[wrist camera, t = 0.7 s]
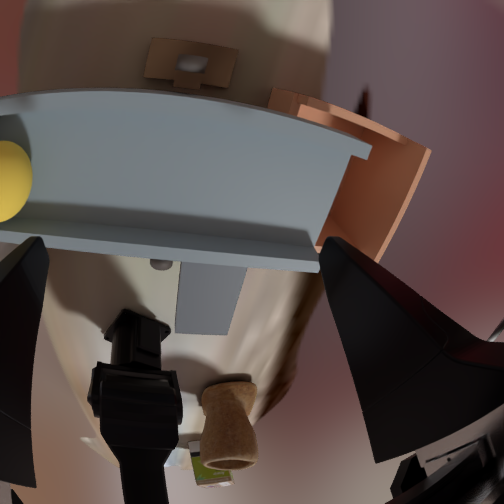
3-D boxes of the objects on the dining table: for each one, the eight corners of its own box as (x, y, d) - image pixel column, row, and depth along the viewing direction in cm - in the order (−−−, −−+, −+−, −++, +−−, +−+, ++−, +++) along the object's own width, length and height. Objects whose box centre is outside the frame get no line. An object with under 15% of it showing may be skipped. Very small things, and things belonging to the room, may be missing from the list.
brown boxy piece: (239, 207, 24) (264, 266, 18) (272, 87, 18) (320, 98, 12) (330, 219, 27) (373, 271, 21) (368, 121, 21) (431, 150, 15)
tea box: (225, 446, 74) (235, 484, 62) (196, 450, 72) (204, 488, 61) (221, 436, 65) (232, 482, 53) (186, 441, 63) (195, 486, 51)
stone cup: (188, 379, 40) (202, 467, 28) (260, 372, 43) (285, 453, 31) (191, 411, 48) (203, 477, 37) (247, 405, 52) (265, 468, 40)
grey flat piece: (27, 303, 16) (16, 331, 14) (-6, 97, 8) (-37, 109, 5) (270, 326, 23) (278, 355, 20) (348, 133, 14) (377, 148, 11)
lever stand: (129, 221, 22) (114, 287, 16) (153, 39, 14) (135, 18, 7) (196, 226, 24) (206, 291, 18) (236, 50, 16) (268, 38, 9)
